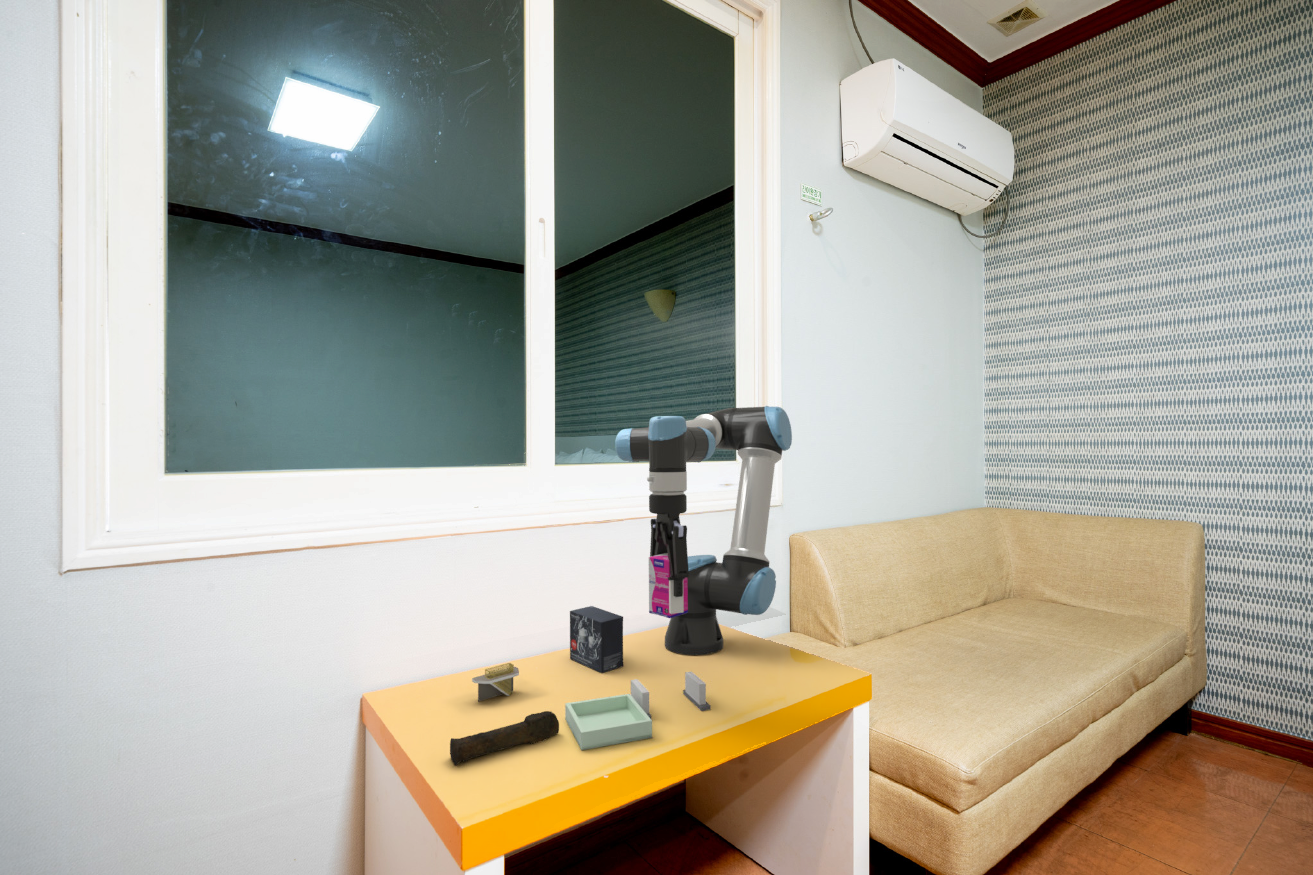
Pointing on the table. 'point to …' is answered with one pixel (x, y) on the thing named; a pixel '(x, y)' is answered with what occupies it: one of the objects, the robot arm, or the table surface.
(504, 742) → the hand tool
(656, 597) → the supplement box
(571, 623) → the small box
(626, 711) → the parts tray
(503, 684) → the platform
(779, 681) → the table surface
